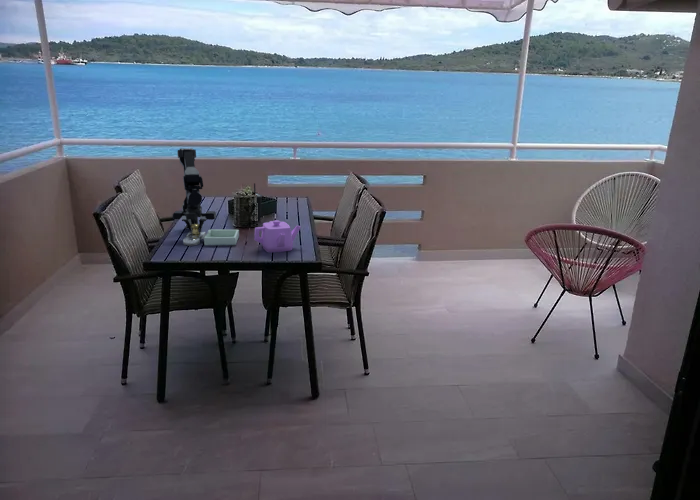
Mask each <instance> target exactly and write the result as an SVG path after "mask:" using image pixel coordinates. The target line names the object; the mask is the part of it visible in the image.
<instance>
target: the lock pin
mask: <svg viewBox="0 0 700 500" xmlns="http://www.w3.org/2000/svg"><path fill="white" fill-rule="evenodd" d="M191 228H192V234H193V235H199V223H198V224H191Z"/></svg>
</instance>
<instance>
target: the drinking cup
mask: <svg viewBox="0 0 700 500" xmlns="http://www.w3.org/2000/svg"><path fill="white" fill-rule="evenodd" d="M256 192H257V191H256V183H253V193H255V194H256V195H257V203H258V222H261V217H262V216H261V213H262V201H263V200H262V198H263V195H262V194H260V193H258V192H257V193H256Z"/></svg>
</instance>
